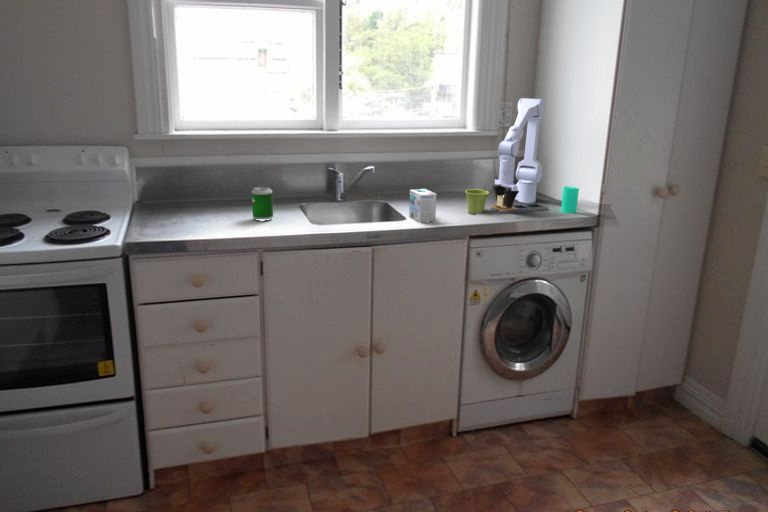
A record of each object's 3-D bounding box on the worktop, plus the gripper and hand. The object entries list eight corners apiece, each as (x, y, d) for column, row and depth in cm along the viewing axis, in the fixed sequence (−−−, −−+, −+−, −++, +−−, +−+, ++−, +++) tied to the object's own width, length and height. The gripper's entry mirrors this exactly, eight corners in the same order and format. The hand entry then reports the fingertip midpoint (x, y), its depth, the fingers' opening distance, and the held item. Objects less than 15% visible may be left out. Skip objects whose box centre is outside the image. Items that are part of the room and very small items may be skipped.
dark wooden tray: (490, 211, 267) (491, 205, 266) (537, 208, 274) (538, 202, 273) (499, 215, 260) (499, 209, 260) (547, 211, 268) (547, 206, 267)
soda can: (276, 218, 250) (275, 187, 247) (267, 222, 244) (266, 190, 240) (259, 216, 253) (258, 185, 249) (249, 220, 246) (247, 189, 242)
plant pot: (490, 211, 266) (491, 190, 264) (483, 216, 258) (485, 194, 256) (468, 209, 270) (469, 188, 268) (460, 214, 262) (462, 192, 259)
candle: (576, 215, 262) (579, 185, 259) (561, 214, 264) (564, 184, 260) (575, 212, 268) (578, 182, 265) (560, 211, 269) (563, 182, 266)
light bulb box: (408, 216, 256) (409, 189, 253) (424, 215, 259) (425, 188, 256) (419, 223, 247) (420, 194, 244) (436, 221, 249) (437, 193, 246)
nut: (496, 209, 266) (497, 194, 264) (506, 209, 267) (507, 193, 266) (502, 212, 262) (503, 196, 260) (511, 211, 263) (513, 195, 262)
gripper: (488, 169, 265) (486, 202, 269) (506, 175, 252) (504, 209, 256) (504, 168, 268) (502, 201, 272) (523, 174, 255) (520, 208, 258)
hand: (504, 205), depth 264 cm, fingers open, 7 cm apart
